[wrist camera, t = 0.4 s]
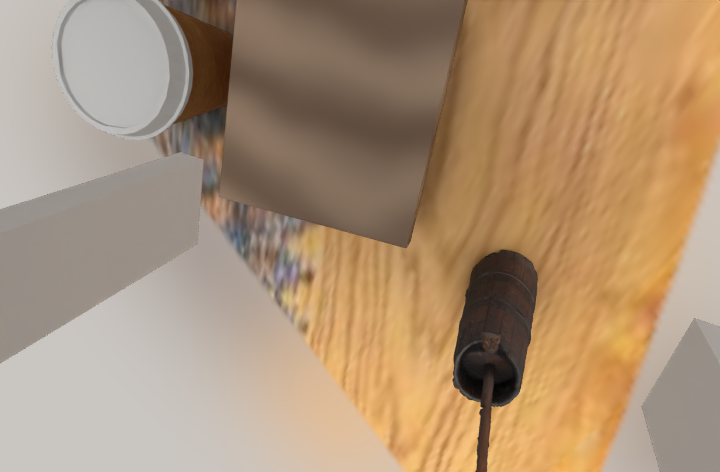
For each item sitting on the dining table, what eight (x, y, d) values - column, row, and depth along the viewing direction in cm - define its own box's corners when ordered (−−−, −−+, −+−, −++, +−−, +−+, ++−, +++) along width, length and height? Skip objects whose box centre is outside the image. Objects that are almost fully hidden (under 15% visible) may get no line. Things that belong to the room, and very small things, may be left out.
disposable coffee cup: (280, 109, 41) (198, 120, 30) (187, 138, 44) (81, 157, 33) (244, -11, 39) (141, -48, 28) (149, 27, 42) (22, 9, 31)
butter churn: (466, 193, 39) (392, 416, 13) (586, 238, 37) (769, 588, 12) (426, 292, 42) (304, 624, 16) (535, 336, 41) (588, 777, 15)
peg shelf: (292, -26, 38) (241, -52, 30) (475, 5, 35) (468, -15, 27) (267, 177, 43) (219, 197, 36) (424, 217, 40) (406, 248, 33)
